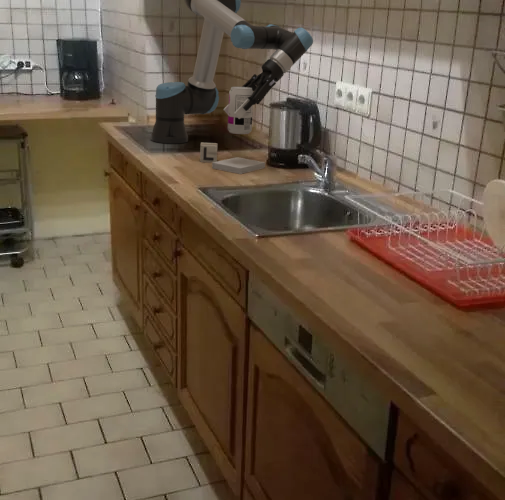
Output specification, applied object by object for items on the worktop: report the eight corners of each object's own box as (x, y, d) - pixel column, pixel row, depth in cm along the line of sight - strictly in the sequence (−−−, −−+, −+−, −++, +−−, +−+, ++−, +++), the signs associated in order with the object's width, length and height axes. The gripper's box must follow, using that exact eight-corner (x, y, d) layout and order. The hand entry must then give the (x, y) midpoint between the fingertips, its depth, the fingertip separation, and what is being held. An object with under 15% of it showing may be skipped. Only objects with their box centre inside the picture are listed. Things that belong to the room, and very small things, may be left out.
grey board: (237, 162, 246) (237, 157, 245) (264, 167, 239) (265, 162, 239) (212, 168, 234) (212, 162, 233) (240, 174, 228) (240, 168, 227)
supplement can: (223, 132, 231) (225, 87, 226) (235, 129, 238) (237, 85, 233) (244, 135, 227) (246, 89, 222) (255, 132, 234) (258, 88, 229)
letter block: (200, 158, 248) (200, 142, 246) (216, 159, 249) (217, 143, 247) (199, 162, 242) (200, 145, 241) (216, 162, 243) (217, 146, 241)
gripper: (297, 77, 224) (251, 126, 222) (269, 71, 242) (225, 117, 240) (284, 60, 220) (237, 110, 218) (256, 56, 238) (212, 102, 236)
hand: (231, 114), depth 229 cm, fingers closed on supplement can, 8 cm apart
